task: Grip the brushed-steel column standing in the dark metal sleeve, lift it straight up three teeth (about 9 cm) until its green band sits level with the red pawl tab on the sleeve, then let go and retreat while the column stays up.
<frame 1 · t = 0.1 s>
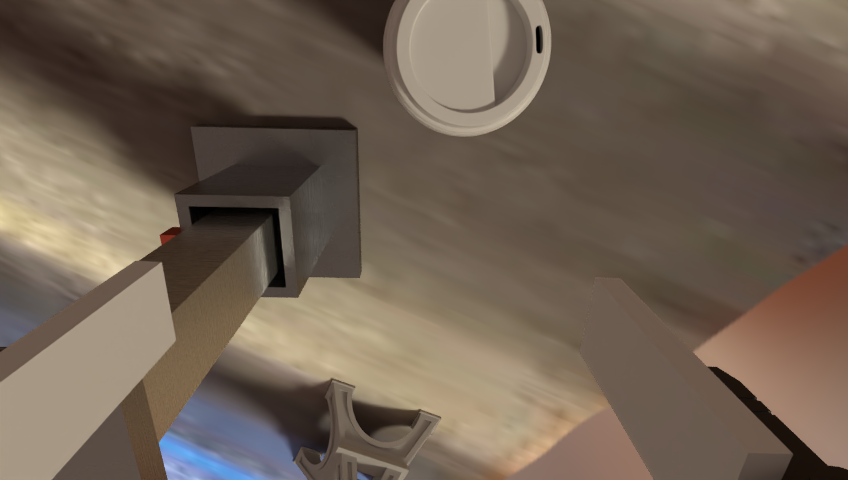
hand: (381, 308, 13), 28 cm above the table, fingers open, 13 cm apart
stand base: (285, 202, 41), on the table
eiffel tower: (366, 437, 52), on the table
column: (216, 270, 27), point 15 cm above the table, slide at 0.0 cm
coffee cup: (450, 58, 37), on the table
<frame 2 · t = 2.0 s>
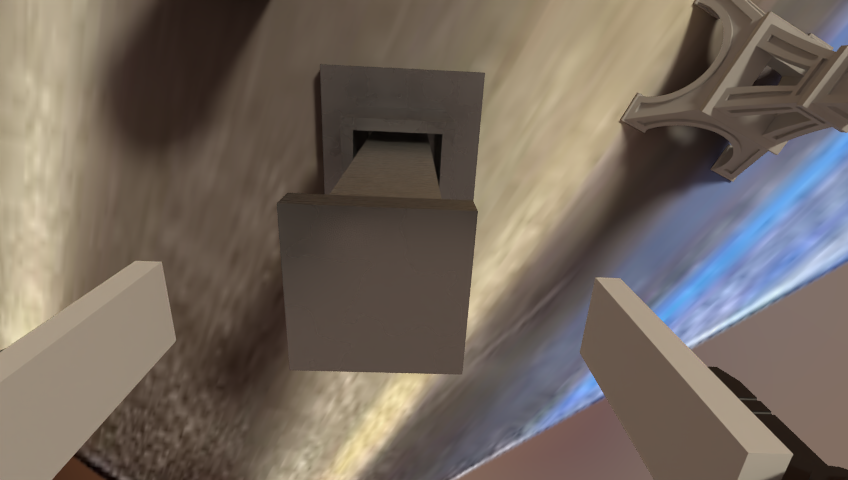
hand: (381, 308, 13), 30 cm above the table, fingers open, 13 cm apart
stand base: (401, 148, 41), on the table
eiffel tower: (720, 84, 40), on the table
column: (394, 189, 27), point 15 cm above the table, slide at 0.0 cm
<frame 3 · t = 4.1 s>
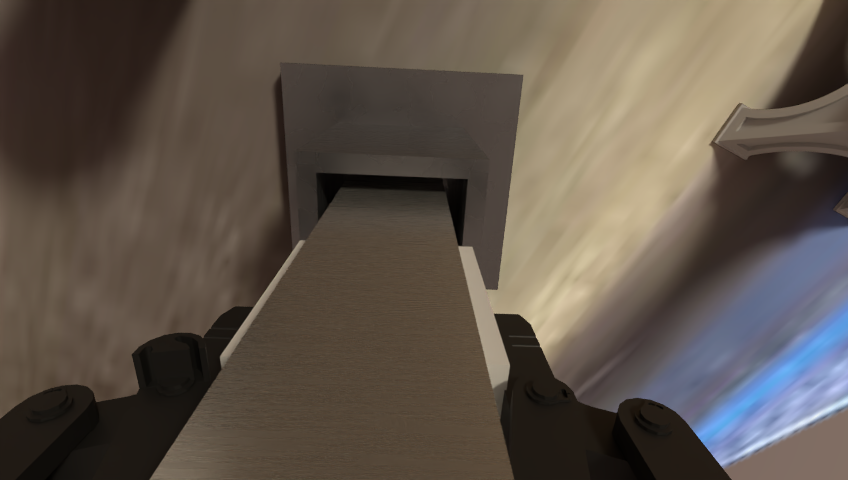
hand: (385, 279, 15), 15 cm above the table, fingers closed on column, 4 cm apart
stand base: (400, 181, 29), on the table
column: (385, 286, 15), point 15 cm above the table, slide at 0.0 cm, touching gripper
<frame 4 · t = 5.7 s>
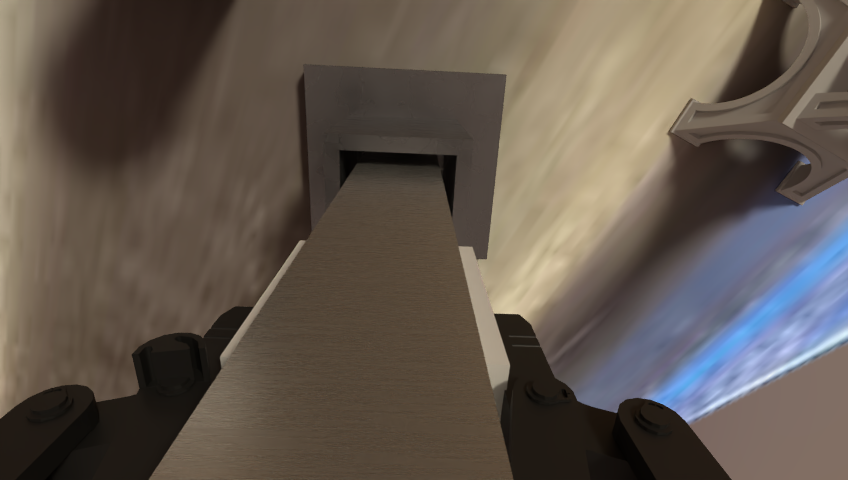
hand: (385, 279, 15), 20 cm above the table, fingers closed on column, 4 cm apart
stand base: (403, 165, 34), on the table
eiffel tower: (792, 88, 33), on the table
column: (385, 286, 15), point 21 cm above the table, slide at 5.3 cm, touching gripper
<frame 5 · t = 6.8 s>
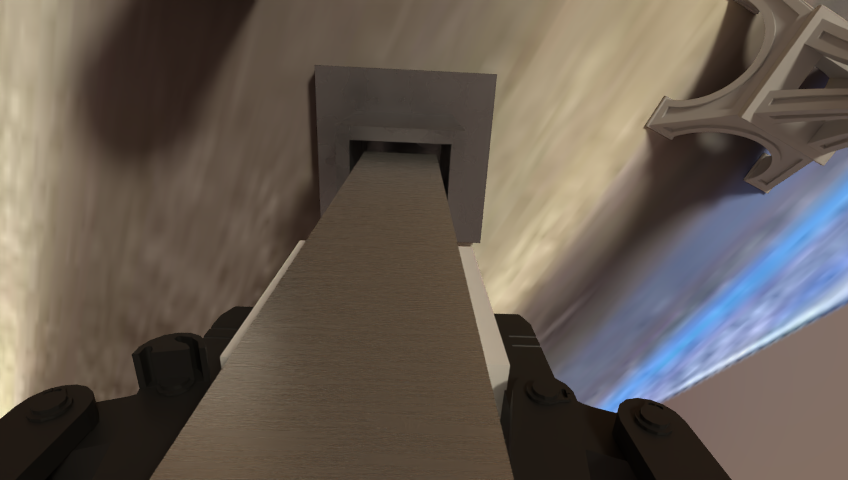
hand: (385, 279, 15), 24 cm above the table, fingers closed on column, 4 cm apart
stand base: (404, 157, 37), on the table
eiffel tower: (756, 87, 36), on the table
column: (385, 286, 15), point 24 cm above the table, slide at 8.9 cm, touching gripper
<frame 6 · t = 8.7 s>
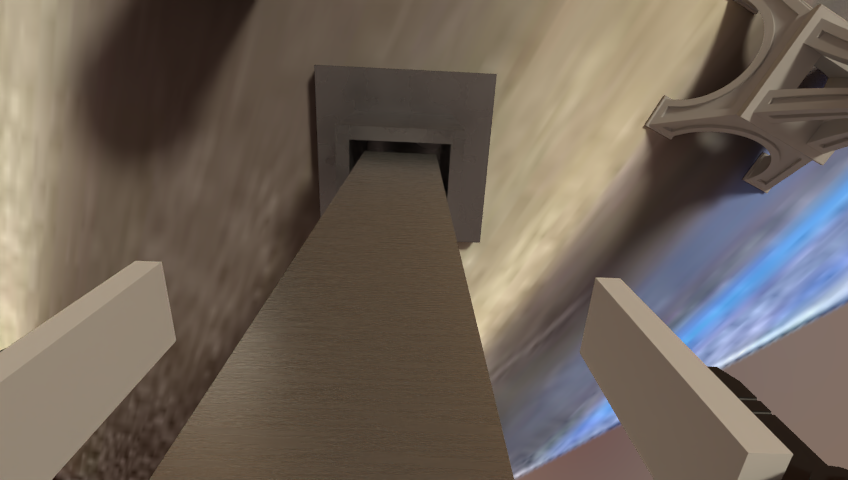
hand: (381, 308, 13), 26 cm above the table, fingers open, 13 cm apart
stand base: (403, 157, 37), on the table
eiffel tower: (755, 86, 36), on the table
column: (384, 285, 15), point 24 cm above the table, slide at 9.0 cm
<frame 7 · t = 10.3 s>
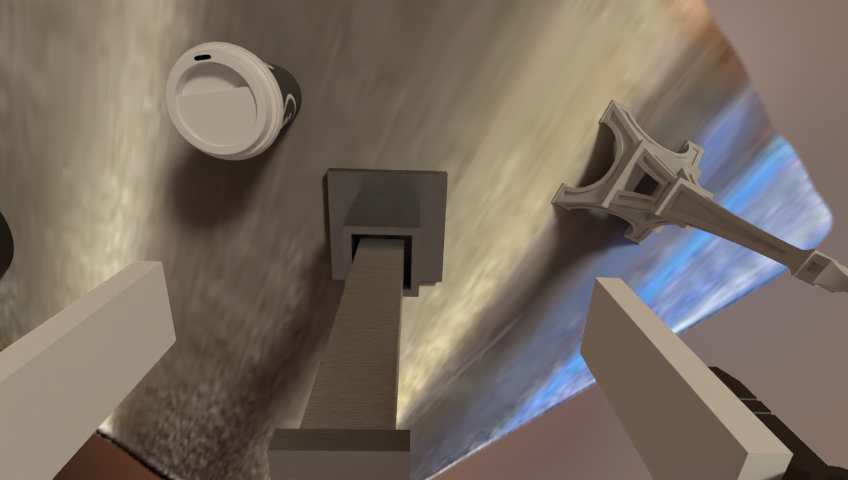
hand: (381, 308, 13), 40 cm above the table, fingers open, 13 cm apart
stand base: (388, 225, 55), on the table
eiffel tower: (625, 175, 54), on the table
column: (370, 332, 32), point 24 cm above the table, slide at 9.0 cm
coffee cup: (273, 95, 49), on the table
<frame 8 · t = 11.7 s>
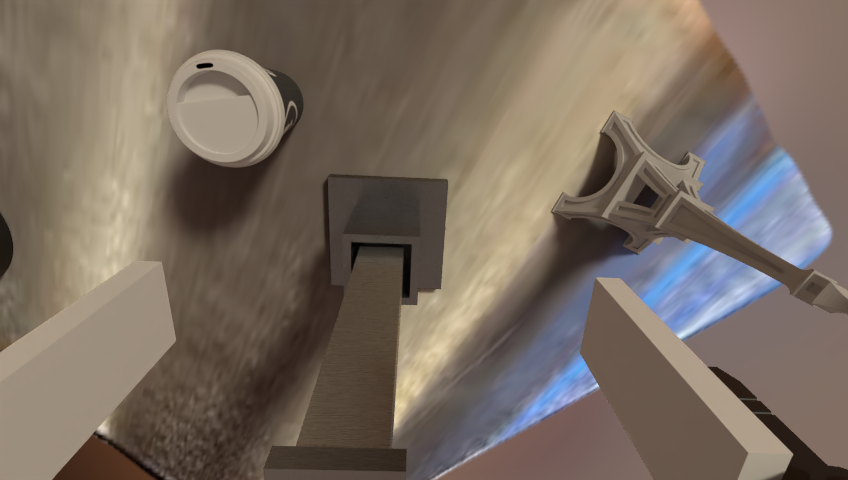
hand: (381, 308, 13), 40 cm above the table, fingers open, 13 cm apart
stand base: (387, 231, 55), on the table
eiffel tower: (625, 185, 54), on the table
column: (368, 343, 32), point 24 cm above the table, slide at 9.0 cm
coffee cup: (274, 101, 49), on the table
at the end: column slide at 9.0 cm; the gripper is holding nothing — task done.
